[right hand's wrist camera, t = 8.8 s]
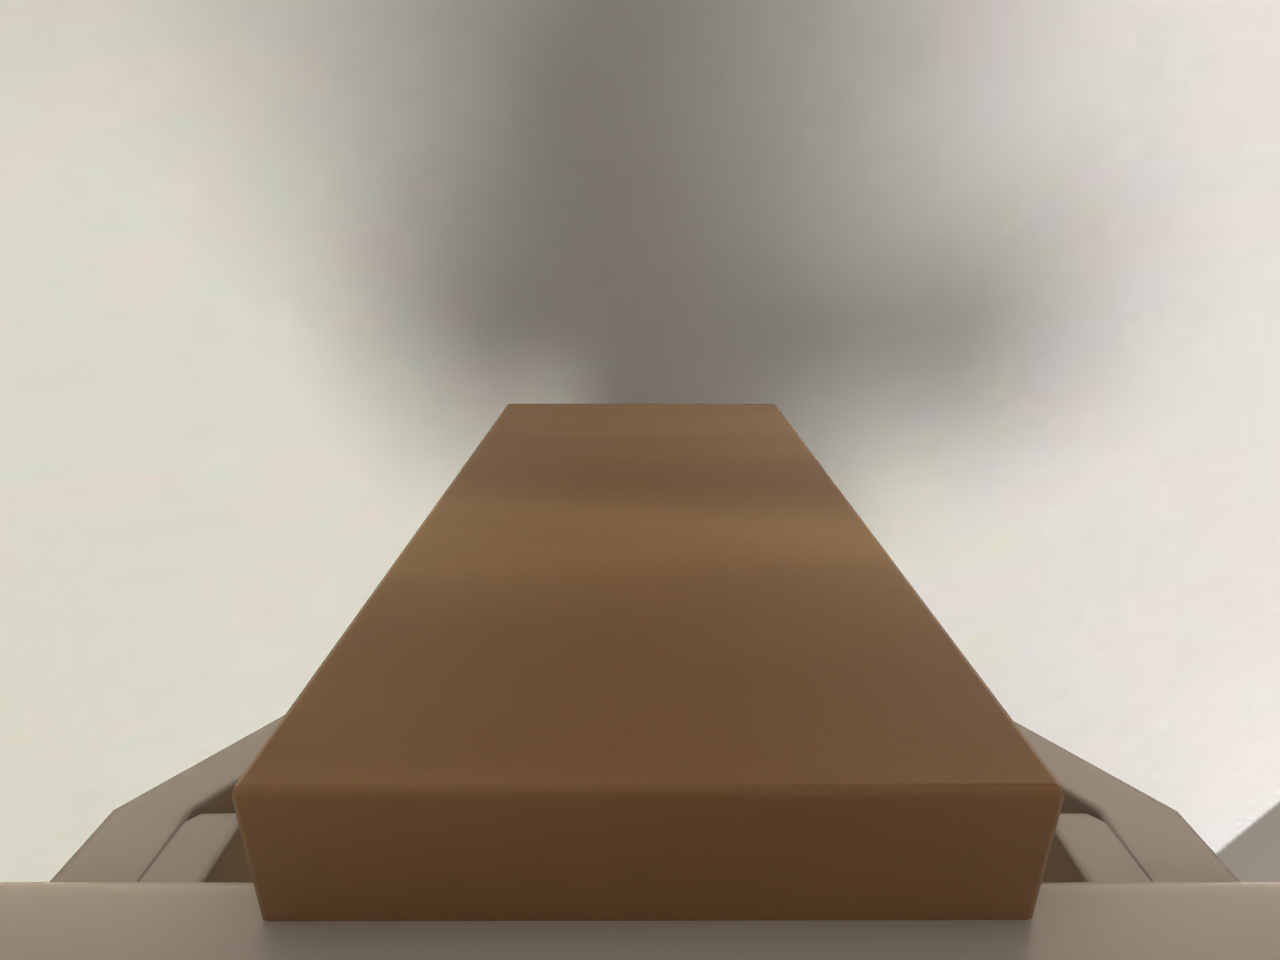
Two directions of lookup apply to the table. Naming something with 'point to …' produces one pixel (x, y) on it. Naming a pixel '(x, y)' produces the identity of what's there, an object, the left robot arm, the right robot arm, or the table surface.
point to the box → (645, 704)
